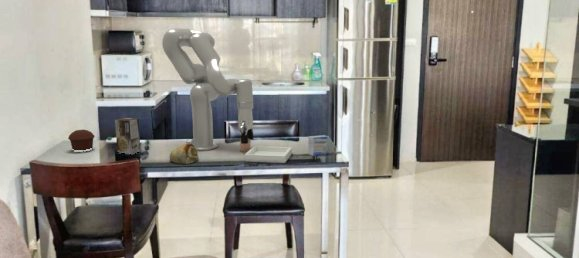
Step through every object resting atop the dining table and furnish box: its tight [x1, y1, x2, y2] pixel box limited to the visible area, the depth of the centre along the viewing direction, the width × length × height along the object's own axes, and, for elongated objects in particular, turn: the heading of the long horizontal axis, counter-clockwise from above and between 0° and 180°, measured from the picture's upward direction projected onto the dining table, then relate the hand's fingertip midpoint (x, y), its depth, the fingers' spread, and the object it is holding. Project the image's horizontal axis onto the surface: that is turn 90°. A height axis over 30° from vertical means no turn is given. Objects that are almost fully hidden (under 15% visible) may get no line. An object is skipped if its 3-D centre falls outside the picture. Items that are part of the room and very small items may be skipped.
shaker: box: [239, 138, 252, 153], centre depth 240 cm, size 5×5×6 cm
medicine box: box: [308, 134, 329, 157], centre depth 233 cm, size 8×4×9 cm, turn 117°
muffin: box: [67, 129, 96, 150], centre depth 241 cm, size 12×11×10 cm
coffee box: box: [114, 117, 141, 155], centre depth 236 cm, size 9×6×16 cm
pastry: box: [168, 143, 200, 165], centre depth 221 cm, size 14×12×8 cm
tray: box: [243, 145, 293, 164], centre depth 227 cm, size 18×18×3 cm
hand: (247, 141), depth 240 cm, fingers open, 9 cm apart
